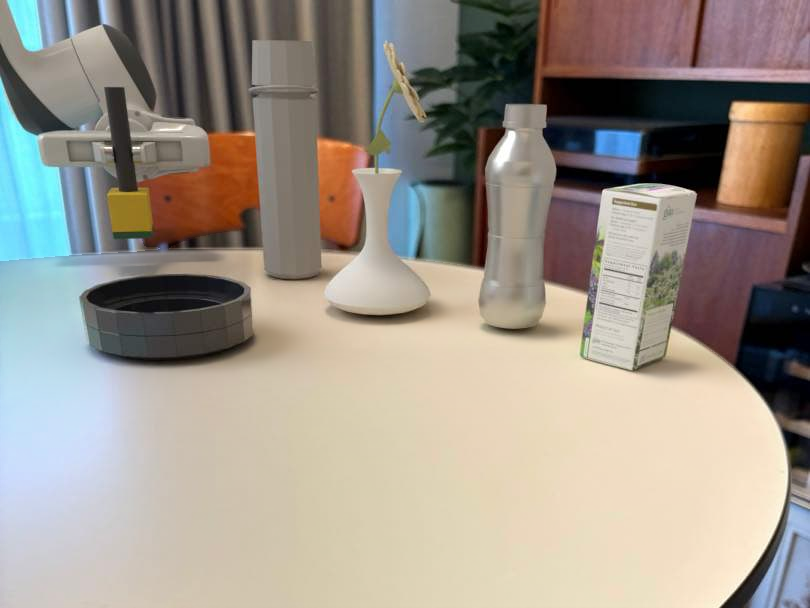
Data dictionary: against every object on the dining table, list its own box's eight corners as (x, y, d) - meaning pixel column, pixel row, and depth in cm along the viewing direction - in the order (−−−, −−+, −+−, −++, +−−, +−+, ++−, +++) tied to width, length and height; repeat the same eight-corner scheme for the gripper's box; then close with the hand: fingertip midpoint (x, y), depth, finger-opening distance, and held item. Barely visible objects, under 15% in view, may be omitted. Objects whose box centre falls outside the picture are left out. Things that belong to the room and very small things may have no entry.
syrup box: (613, 345, 79) (636, 180, 72) (668, 359, 75) (699, 188, 68) (578, 357, 75) (599, 186, 68) (634, 373, 72) (662, 193, 65)
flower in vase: (410, 329, 83) (416, 37, 70) (307, 317, 86) (294, 36, 73) (447, 299, 94) (457, 41, 81) (353, 290, 97) (349, 40, 84)
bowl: (102, 374, 70) (93, 321, 67) (78, 328, 82) (70, 281, 79) (275, 352, 76) (271, 303, 73) (229, 312, 87) (225, 268, 85)
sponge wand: (113, 239, 99) (90, 87, 91) (117, 230, 104) (95, 86, 96) (152, 238, 100) (133, 88, 92) (154, 229, 105) (135, 86, 97)
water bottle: (329, 279, 101) (321, 41, 88) (264, 282, 99) (247, 39, 87) (318, 264, 109) (310, 42, 96) (258, 266, 107) (242, 41, 95)
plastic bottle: (547, 336, 81) (570, 107, 71) (478, 335, 81) (491, 105, 71) (539, 319, 87) (559, 103, 77) (474, 318, 87) (486, 102, 77)
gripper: (41, 117, 105) (22, 124, 93) (205, 118, 109) (208, 125, 97) (50, 171, 108) (34, 184, 96) (210, 170, 112) (213, 183, 101)
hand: (123, 154), depth 97 cm, fingers closed on sponge wand, 2 cm apart
